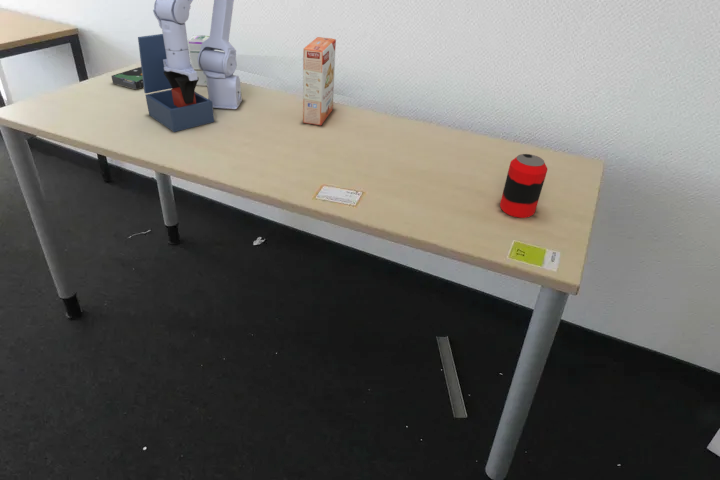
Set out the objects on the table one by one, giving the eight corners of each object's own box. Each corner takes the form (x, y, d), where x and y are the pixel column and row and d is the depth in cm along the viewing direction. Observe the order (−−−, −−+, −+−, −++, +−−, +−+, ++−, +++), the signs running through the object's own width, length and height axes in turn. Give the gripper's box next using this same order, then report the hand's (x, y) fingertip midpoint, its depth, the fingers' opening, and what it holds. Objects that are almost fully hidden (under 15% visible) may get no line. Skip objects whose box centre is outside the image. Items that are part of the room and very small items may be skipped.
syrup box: (211, 86, 166) (206, 40, 158) (193, 85, 166) (187, 39, 158) (215, 80, 171) (211, 35, 163) (198, 79, 171) (192, 34, 163)
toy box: (214, 121, 143) (212, 101, 139) (173, 132, 135) (170, 110, 132) (188, 106, 151) (185, 86, 147) (149, 115, 144) (145, 94, 140)
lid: (183, 32, 137) (181, 31, 137) (139, 38, 130) (137, 36, 130) (186, 85, 147) (184, 84, 147) (145, 93, 140) (144, 92, 140)
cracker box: (322, 126, 144) (323, 50, 132) (302, 123, 145) (301, 47, 133) (334, 109, 155) (336, 38, 143) (315, 107, 156) (316, 35, 144)
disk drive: (147, 73, 174) (112, 84, 163) (145, 64, 173) (110, 75, 161) (170, 78, 171) (136, 90, 159) (169, 70, 169) (134, 81, 158)
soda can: (528, 201, 115) (542, 152, 109) (539, 219, 109) (554, 169, 102) (495, 200, 115) (507, 151, 108) (504, 218, 109) (517, 167, 102)
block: (196, 106, 138) (194, 90, 136) (181, 109, 136) (179, 93, 133) (188, 101, 141) (186, 85, 138) (173, 104, 138) (171, 88, 136)
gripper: (148, 43, 132) (157, 95, 139) (175, 57, 123) (183, 111, 131) (174, 40, 136) (181, 90, 143) (202, 53, 127) (208, 105, 135)
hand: (184, 100), depth 138 cm, fingers open, 4 cm apart
